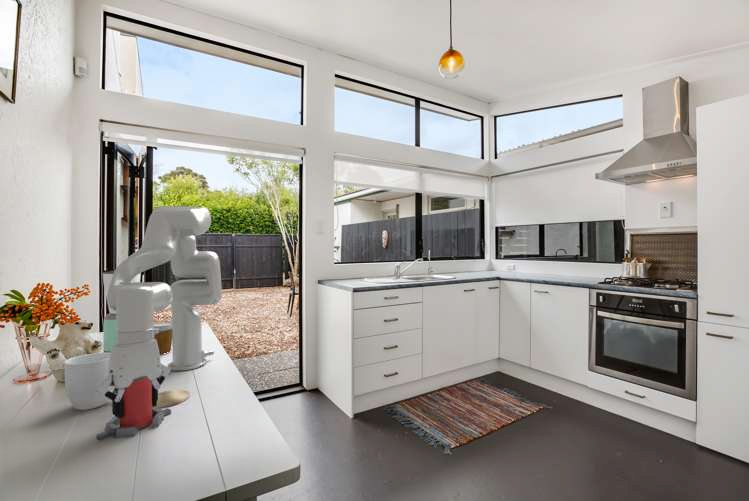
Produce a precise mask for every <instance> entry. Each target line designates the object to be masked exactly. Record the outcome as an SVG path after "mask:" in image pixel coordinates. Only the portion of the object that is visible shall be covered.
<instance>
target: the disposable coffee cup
mask: <svg viewBox="0 0 749 501" xmlns="http://www.w3.org/2000/svg"><path fill="white" fill-rule="evenodd" d="M154 328H159V333H157V334H155V337H154V339H156V340H157V344H158V348H159V353H160V354H162V355H164V354H163V353H167V352H170V351H171V352H172V321H164V322H155V323H154ZM171 352H170V353H171ZM167 354H168V353H167Z"/></svg>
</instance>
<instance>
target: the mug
mask: <svg viewBox="0 0 749 501" xmlns="http://www.w3.org/2000/svg"><path fill="white" fill-rule="evenodd" d="M109 358H110V353H109V352H104V351H103V352H93V353H87V354H82V355H78V356H74V357H70V358H68V359H66V360H65V361H64V387H65V392H66V395H67V398H68V401H69V403H70V404H71V405H72V407H73V408H74V409H76V410H78V411H87V410H92V409H96V408H98V407H102V406H103V405H106V403H107V402H108V401H109V400H110V399H109V398H107V397H105V396H104V395H102V394H101V393H99V392H97V391H96V388H97V387H98V386H99V385H100V384H101V382H102V381H103V380H104V379H105V378H106V377H107V376H108V365H109ZM114 387H115V386H108V387H107V390H109V391H110V392H112V391H113V389H114Z"/></svg>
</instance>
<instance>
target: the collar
mask: <svg viewBox="0 0 749 501" xmlns="http://www.w3.org/2000/svg"><path fill="white" fill-rule="evenodd" d="M171 414H172V410H171V409H170V408H169V407H166V408H164V409H163V408H157V407H155V408H154V407H152V428H159V427H160V425H161V424H162V422H163V421H164V420H165V417H166V416H168V415H171ZM105 426H106V427H105V431H103V432H100V433H97V434H95V439H96V440H97V441H98V442H100V441H103V440H105V439H109V438H111V437H112V438H113V439H114V438H116V439H119V438H128V437H136V436H137V434H138V430H137V425H129V426H120V418H118V417H116V416H115V415H113V417H112V418H111V419H110V420H108V421H107V422H106V424H105Z"/></svg>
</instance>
